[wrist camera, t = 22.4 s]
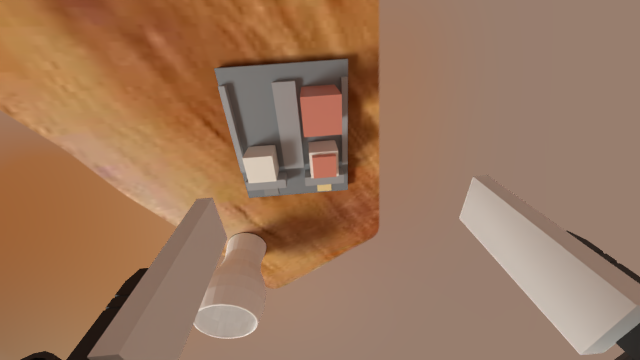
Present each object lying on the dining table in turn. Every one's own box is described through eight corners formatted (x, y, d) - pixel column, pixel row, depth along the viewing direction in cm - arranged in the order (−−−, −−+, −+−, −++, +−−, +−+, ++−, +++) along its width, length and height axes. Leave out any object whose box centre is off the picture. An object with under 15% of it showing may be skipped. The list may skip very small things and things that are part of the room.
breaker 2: (308, 142, 34) (308, 155, 30) (334, 140, 34) (338, 153, 30) (310, 165, 36) (311, 181, 32) (335, 163, 36) (339, 179, 32)
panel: (218, 67, 30) (206, 70, 27) (346, 58, 30) (351, 60, 27) (250, 192, 40) (245, 206, 37) (346, 185, 41) (350, 198, 37)
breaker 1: (248, 146, 34) (242, 158, 31) (275, 144, 34) (271, 156, 31) (254, 170, 36) (248, 183, 33) (279, 168, 36) (276, 181, 33)
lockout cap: (304, 120, 33) (304, 137, 27) (300, 86, 30) (300, 97, 24) (335, 117, 33) (342, 134, 27) (334, 84, 30) (341, 94, 24)
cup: (272, 227, 45) (259, 301, 32) (274, 263, 50) (264, 339, 37) (216, 226, 44) (179, 302, 31) (224, 263, 49) (196, 341, 36)
